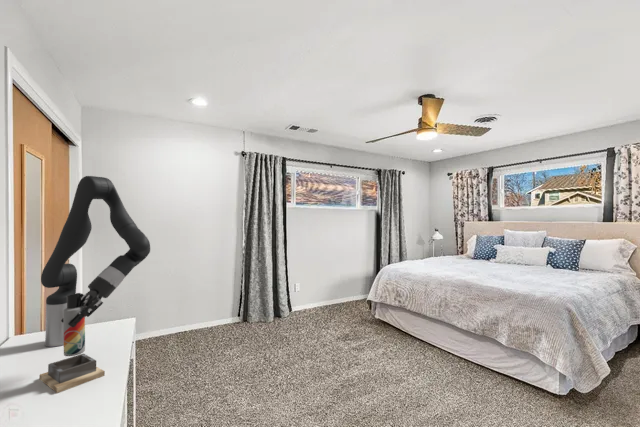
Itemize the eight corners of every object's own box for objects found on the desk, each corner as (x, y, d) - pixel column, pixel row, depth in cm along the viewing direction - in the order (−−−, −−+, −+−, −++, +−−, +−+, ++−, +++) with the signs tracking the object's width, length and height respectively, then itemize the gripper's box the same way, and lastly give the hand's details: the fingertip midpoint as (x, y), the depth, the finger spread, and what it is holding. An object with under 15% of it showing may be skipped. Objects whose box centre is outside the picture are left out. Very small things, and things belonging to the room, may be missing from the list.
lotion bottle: (73, 357, 103) (72, 295, 104) (59, 356, 105) (58, 295, 105) (89, 350, 109) (88, 291, 109) (75, 348, 110) (75, 291, 110)
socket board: (39, 379, 105) (39, 363, 105) (85, 364, 116) (85, 350, 116) (57, 393, 97) (57, 376, 97) (104, 375, 108) (104, 360, 108)
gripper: (90, 273, 117) (48, 314, 107) (108, 277, 110) (65, 322, 99) (106, 285, 122) (67, 326, 112) (124, 290, 114) (85, 334, 104)
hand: (67, 324), depth 105 cm, fingers closed on lotion bottle, 5 cm apart
